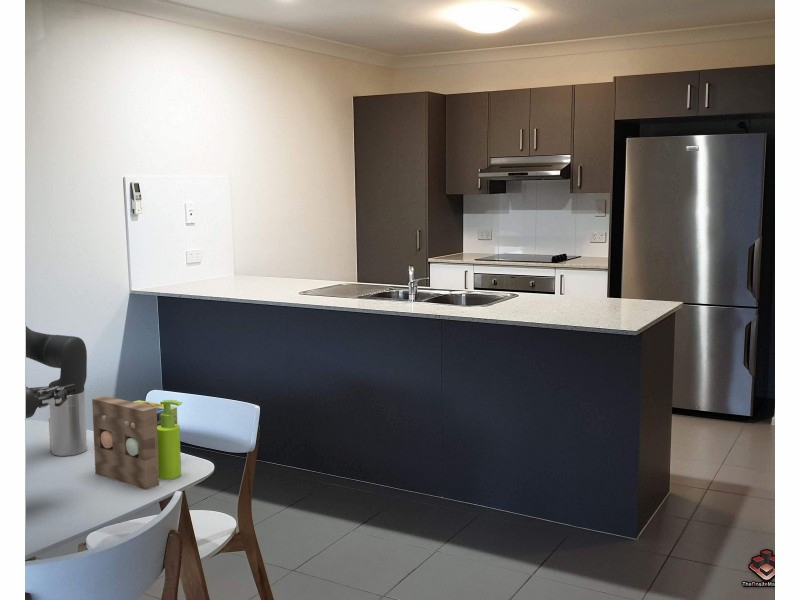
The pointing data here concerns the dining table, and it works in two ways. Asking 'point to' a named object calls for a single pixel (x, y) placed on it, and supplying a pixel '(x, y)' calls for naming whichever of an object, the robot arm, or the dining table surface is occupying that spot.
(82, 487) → the dining table surface
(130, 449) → the button two
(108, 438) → the button one
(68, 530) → the dining table surface
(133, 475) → the button panel
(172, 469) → the soap dispenser
